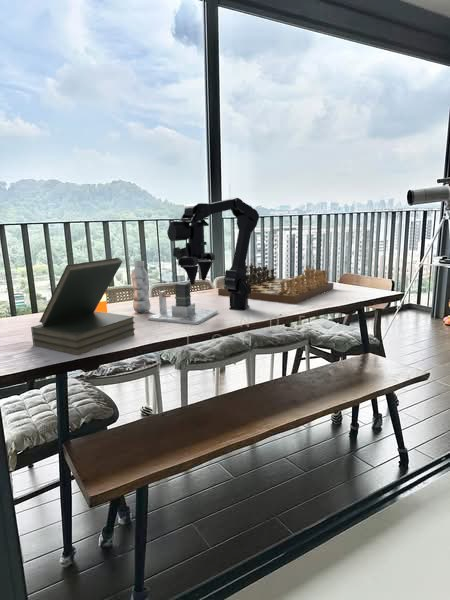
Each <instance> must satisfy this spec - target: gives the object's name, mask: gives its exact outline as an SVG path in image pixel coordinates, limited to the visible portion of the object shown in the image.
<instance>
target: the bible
mask: <svg viewBox="0 0 450 600" xmlns="http://www.w3.org/2000/svg"><path fill="white" fill-rule="evenodd" d="M122 264H123V261H122V260H121V258H120V257H114V258H108V259H107V258H106V259H100V260H93V261H86V262H77V263H71V264H67V265H66V266H65V268H64V270H63V272H62V273H61V276H60V278H59V281H58V283H57V284H56V287H55V288H54V290H53V292H52V295H51V297H50V299H49V301H48V303H47V305H46V307H45V309H44V311H43V314H42V315H41V318H40V319H39V322H38V323H41V324H37V325H34V326H31V327H30V328H31V338H32V346H33V347H39V348H44V349H48V350H53V351H58V352H63V353H67V354H71V355H76V356H81V355H83V354H85V353H88V352H92V351H94V350H97V349H99V348H101V347H104V346H107V345H109V344H112V343H115V342H117V341H121V340H123V339H126V338H129V337H131V336H134V335H135V330H136V328H135V327H134V326H135V325H134V324H135V323H136V322H135V321H134V318H135V316H133V315H132V316H131V315H127V314H126V315H125V314H117V313H110V312H107V313H104V312H97V311H95V309H96V308H97V306H98V304H99V302H100V301H101V299H102V297H103V295H104V293H105V292H106V291H107V290H108V288H109V286H110V285H111V283H112V281H113V279H114V277H115V276H116V274H117V272H118V270H119V269H120V267H121V265H122ZM106 293H107V292H106Z"/></svg>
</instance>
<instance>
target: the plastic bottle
mask: <svg viewBox="0 0 450 600" xmlns="http://www.w3.org/2000/svg"><path fill="white" fill-rule="evenodd" d="M133 267H134V269H133V270H132V272H131V274H130V275H131V276H130V277H131V283H132V286H133V287H132V288H133V305H132V306H133V307H132V308H133V311H135V312H136V313H141V314H144V313H147V312H150V311H151V306H152V305H151V301H150V297H149V289H148V288H149V285H148V284H149V273H148V271H147V270H146V269H145V261H144V260H136V261H133Z"/></svg>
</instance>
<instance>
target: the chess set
mask: <svg viewBox="0 0 450 600" xmlns="http://www.w3.org/2000/svg"><path fill="white" fill-rule="evenodd" d="M249 264H250V265H247V262H246V263H245V268H244V269H245V273H246V276H247V278H246V283H247V284H248V285H249V286H250V287H251V288H252V289H251V293H250V294H248V300H256V301H264V302H273V303H280V304H289V305H298V304H301V303H303V302H305V301H308V300H311V299H313V298H314V297H318V296H320V295H323V294H325V293H328V292H330V291H332V289H333V290H334V282H330V281H329V280H328V277H327V274H328V270H321V269H319V270H318V269H315V268H314V266H311V268H310V265H309V264H307V265H306V266H305V269H303V272H304V273H301V274H300V275H297V276H296V277H291V278H290V279H289V278H280V277H279V278H277V277H276V276H275V275H274V274H275V269H274V268H270V269H268V266H262V267H261V266H260V265H258V266H257V265H253V263H252V262H251V263H249ZM269 275H270V276H269ZM223 285H224V286H223V287H219V288H217V293H218V295H217V296H221V297H222V296H223V297H229V298H230V296H231V292H228V290H227V287H226V286H225V284H223ZM327 291H328V292H327ZM324 292H325V293H324ZM322 293H323V294H322ZM319 294H320V295H319ZM317 295H318V296H317ZM312 297H313V298H312ZM307 299H308V300H307Z"/></svg>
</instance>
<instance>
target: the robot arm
mask: <svg viewBox="0 0 450 600" xmlns="http://www.w3.org/2000/svg"><path fill="white" fill-rule="evenodd" d="M226 211H231V212H232V215H233V216H234V217H235V218H236V225H237V229H238V233H237V239H236V243H235V244H236V245H235V249H234V253H233V260H232V265H231V267H230V269H225V271H224V273H225V274H224V278H223V281H224V284H223V285H225V286H226V287H227V290H228V292H231V296H230V297H229V310H237V311H238V310H240V311H243V310H244V311H245V310H247V309H248V308H250V305H249V299H248V294H250V293H251V289H252V288H251V287H250V286H249V285H248V284H247V283H246V278H247V276H246V273H245V269H244V268H245V263H246V264H247V258H248V257H247V256H248V251H249V246H250V240H251V236H252V233H253V231H254V230H255V229H256V227H257V225H258V222H259V219H260V214H259V212H258V211H257V210H256V209H255V208H253V206H251V205H250V204H248V203H246V202H244V200H242V199H241V198H239V197H230V198H228V199H224V200H219V201H215V202H210V203H209V202H208V203H206V202H204V203H203V202H201V203H200V202H197V203H188V204H186V206H185V207H184V212H183V213H182V215H181V218H180V219H179V221H177V220H171V221H170V222H169V225H168V227H167V233H166V234H167V238H168V239H169V240H170V241H171V242H179V241H182V242H183V241H188V242H185V247H182V248H181V247H180V246H177V247H174V248H173V249H172V256H173V257H174V258H175V259H176V260H177V265H178V266H180V268H182V269H183V270H184V271H185V272H186V275H187V277H188V280H189V283H190V286H193V285H195V282H196V280H197V274H198V271H199V269H200V277H201V280H202V281H204V282H205V281H206V280H207V276H208V273H209V272H210V270H211V268H212V267H211V266H212V265H213V263H214V261H215V259H216V256H215V254H214V252H208V251H207V252H206V250H205V249H206V248H205V246H207V244H208V243H207V241H205V227H209V225H210V224H209V223H208V222H207V221H206V220H205V219H206V218H208V217H210V216H211V215H213V214H218V213H220V212H226Z"/></svg>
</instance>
